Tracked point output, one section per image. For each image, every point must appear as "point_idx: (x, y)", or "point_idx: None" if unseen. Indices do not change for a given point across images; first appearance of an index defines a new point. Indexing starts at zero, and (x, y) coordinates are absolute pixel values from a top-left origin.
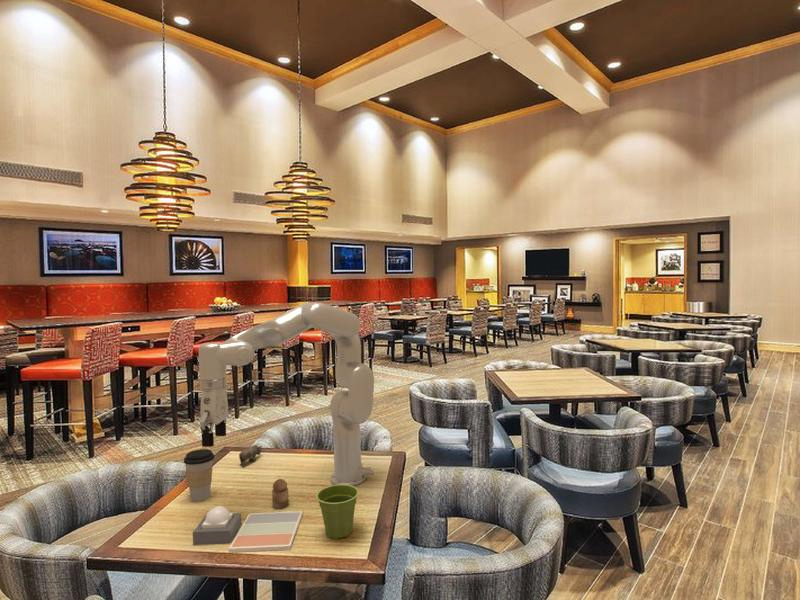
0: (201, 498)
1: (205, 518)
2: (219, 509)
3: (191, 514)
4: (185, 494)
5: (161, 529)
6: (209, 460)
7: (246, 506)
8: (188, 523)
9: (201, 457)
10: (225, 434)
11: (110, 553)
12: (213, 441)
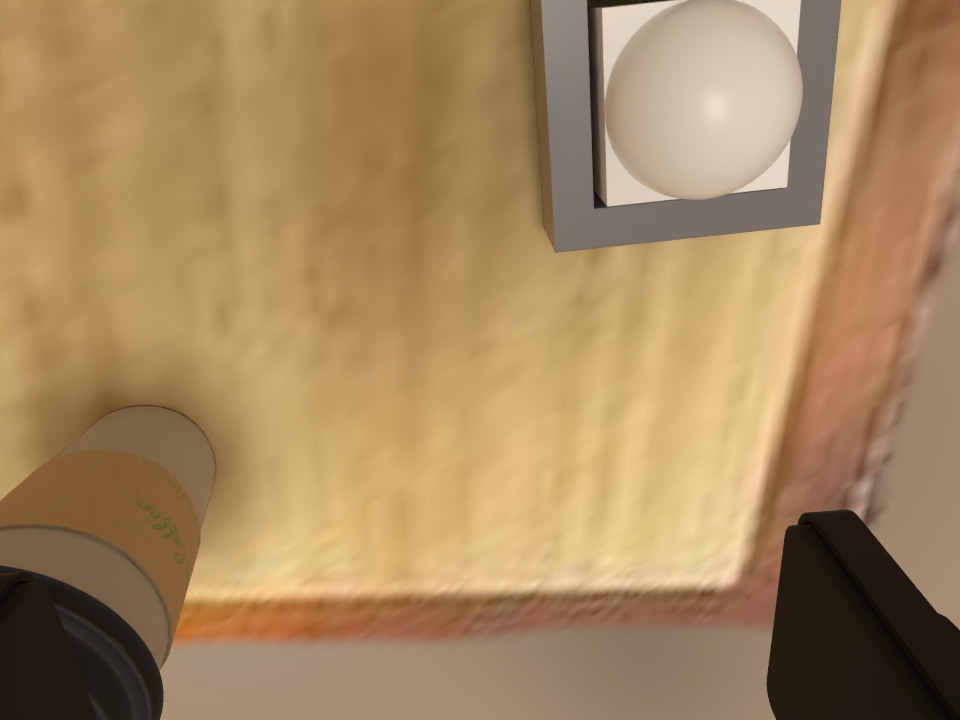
0: (195, 440)
1: (623, 227)
2: (759, 79)
3: (387, 404)
4: None
5: (575, 479)
6: None
7: (223, 47)
8: (506, 365)
9: None
10: (6, 586)
11: None
12: (876, 575)
